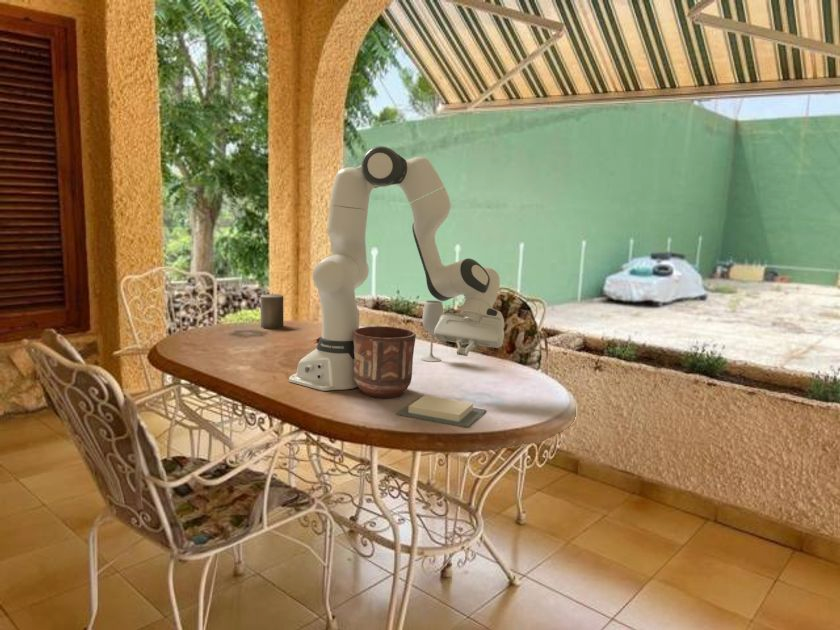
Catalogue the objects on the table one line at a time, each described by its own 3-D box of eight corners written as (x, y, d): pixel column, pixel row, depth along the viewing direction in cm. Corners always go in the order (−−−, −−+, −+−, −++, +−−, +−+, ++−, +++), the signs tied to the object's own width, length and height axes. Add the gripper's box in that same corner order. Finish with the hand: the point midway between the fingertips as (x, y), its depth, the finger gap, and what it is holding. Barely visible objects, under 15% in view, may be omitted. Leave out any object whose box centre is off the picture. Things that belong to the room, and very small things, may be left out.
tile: (424, 402, 173) (408, 413, 163) (424, 395, 172) (408, 406, 162) (472, 410, 167) (458, 422, 157) (473, 403, 167) (459, 415, 157)
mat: (395, 414, 163) (395, 412, 162) (418, 399, 176) (418, 398, 176) (468, 427, 155) (468, 426, 155) (486, 411, 169) (486, 409, 168)
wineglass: (422, 362, 219) (425, 303, 216) (418, 356, 227) (421, 299, 223) (443, 361, 221) (446, 303, 217) (438, 356, 228) (441, 300, 225)
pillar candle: (286, 328, 268) (286, 293, 265) (264, 329, 263) (264, 294, 260) (278, 324, 276) (279, 290, 273) (257, 325, 271) (257, 291, 268)
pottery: (380, 380, 194) (382, 323, 191) (424, 392, 183) (427, 332, 180) (339, 391, 180) (340, 330, 177) (383, 405, 169) (386, 341, 166)
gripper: (439, 305, 185) (425, 343, 177) (506, 312, 177) (494, 353, 169) (444, 318, 189) (430, 355, 182) (509, 325, 181) (497, 365, 174)
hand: (461, 354), depth 176 cm, fingers closed
